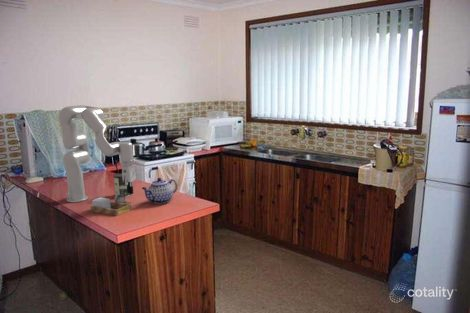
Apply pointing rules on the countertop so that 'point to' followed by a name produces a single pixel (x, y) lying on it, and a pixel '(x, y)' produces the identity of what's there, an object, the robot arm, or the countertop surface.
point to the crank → (124, 194)
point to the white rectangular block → (102, 203)
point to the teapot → (160, 191)
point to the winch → (121, 200)
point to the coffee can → (119, 185)
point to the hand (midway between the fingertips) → (130, 192)
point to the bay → (121, 206)
